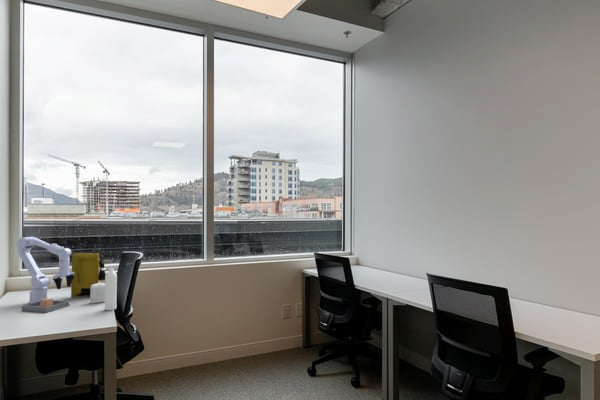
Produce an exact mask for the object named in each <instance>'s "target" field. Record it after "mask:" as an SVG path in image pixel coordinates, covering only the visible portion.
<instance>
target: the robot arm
mask: <svg viewBox="0 0 600 400" xmlns="http://www.w3.org/2000/svg"><path fill="white" fill-rule="evenodd" d="M15 244H16V246H17V252H18V255H19V257H20V259H21V261H22V262H23V264H24V266H25V268H26V269H27V271H28V273H29V275H30V276H31V278H30V283H31V287H32V289H31V290H30V291H29V301H28V302H27V304H31V303H34V302H38V301H40V300H41V299H45V298H48V290H49V289H48V288H49V285H50V284H51V280H50V278H49V277H48V276H46V274H45V273H42V272H41V270H40V269H39V267H38V264H37V263H36V261H35V259H34V258H33V256H32V254H31V253H30V252H31V250H32V249H33V247H34V246H38V247H40V248H44V249H46V250H47V252H49V253H52V254H54V255H56V256H57V257H58V260H59V262H58V263H59V264H58V274H54V275H53V276H52V280H53V281H54V284H55V286H56V289H57V290H61V288H62V282H63V278H65V281H66V288H68V287H69V288H71V283H72V280H73V278H74V277H75V275H74V272H72V271H70V262H71V261H70V256H72V254H73V252H72V249H71V248H69V247H64V246H61V245H58V243H48V242H46V241H44V240H41V239H39V238H38V237H34V236H24V237H23V236H22V237H19V238H18V239H17V242H16V243H15Z"/></svg>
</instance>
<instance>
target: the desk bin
mask: <svg viewBox="0 0 600 400" xmlns="http://www.w3.org/2000/svg"><path fill="white" fill-rule="evenodd" d="M68 307H70V301H69V300H58V299H57V300H56V299H53V306H49V307H40V301H38V302H34V303H27V304H23V305H21V312H31V313H42V314H43V313H44V314H47V313H51V312H55V311H57V310H60V309H61V310H62V309H65V308H68Z"/></svg>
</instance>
